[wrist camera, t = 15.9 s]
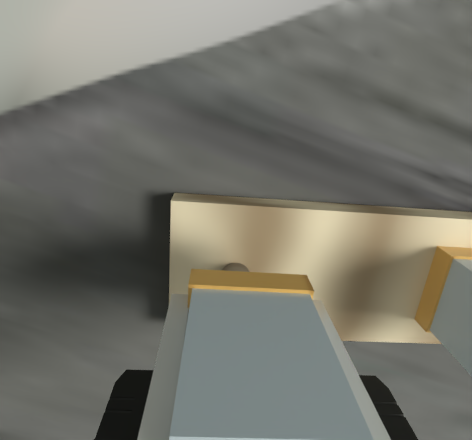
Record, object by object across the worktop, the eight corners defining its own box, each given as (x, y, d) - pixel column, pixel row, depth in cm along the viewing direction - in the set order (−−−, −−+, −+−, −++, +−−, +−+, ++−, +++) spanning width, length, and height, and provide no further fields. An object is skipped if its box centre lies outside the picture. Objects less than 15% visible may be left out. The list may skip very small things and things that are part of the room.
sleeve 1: (187, 362, 15) (161, 565, 9) (191, 268, 14) (161, 431, 7) (291, 365, 15) (341, 564, 9) (306, 274, 14) (382, 435, 7)
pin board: (171, 319, 21) (153, 411, 15) (174, 192, 18) (153, 241, 12) (478, 329, 22) (576, 417, 16) (523, 215, 20) (660, 268, 14)
